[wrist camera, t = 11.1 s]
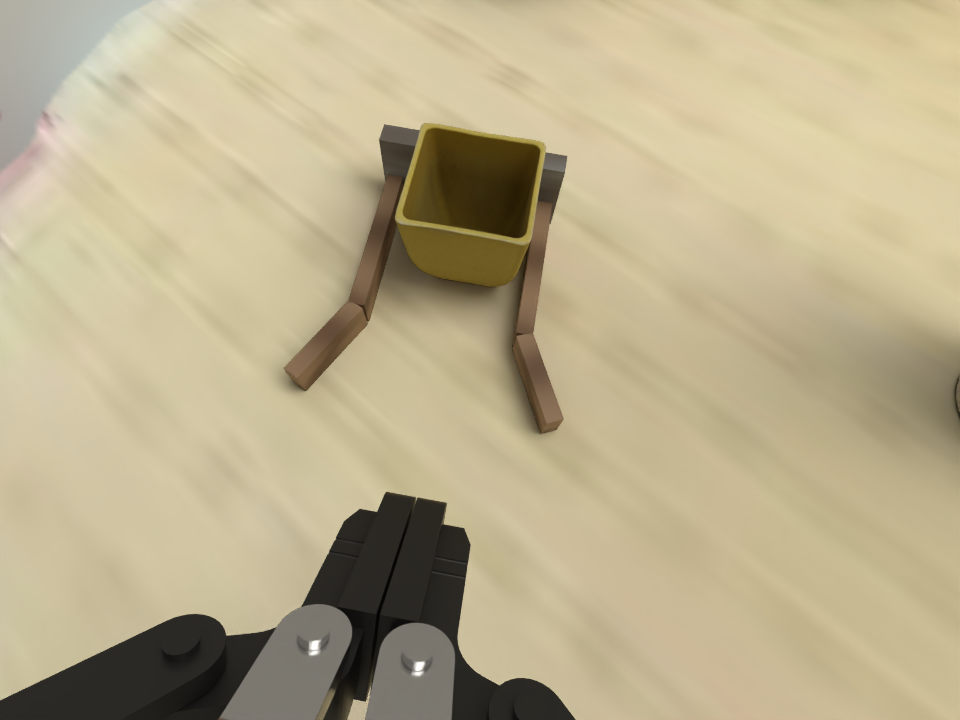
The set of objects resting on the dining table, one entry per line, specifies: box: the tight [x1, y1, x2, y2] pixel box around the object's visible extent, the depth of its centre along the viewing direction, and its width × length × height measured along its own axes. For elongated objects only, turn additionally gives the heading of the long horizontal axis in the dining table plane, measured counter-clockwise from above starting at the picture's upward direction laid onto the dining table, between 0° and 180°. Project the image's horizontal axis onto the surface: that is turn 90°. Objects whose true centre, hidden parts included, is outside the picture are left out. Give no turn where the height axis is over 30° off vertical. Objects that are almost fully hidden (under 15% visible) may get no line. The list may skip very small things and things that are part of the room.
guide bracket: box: [284, 124, 567, 434], centre depth 39 cm, size 20×19×6 cm
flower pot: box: [395, 123, 546, 287], centre depth 39 cm, size 9×9×9 cm
